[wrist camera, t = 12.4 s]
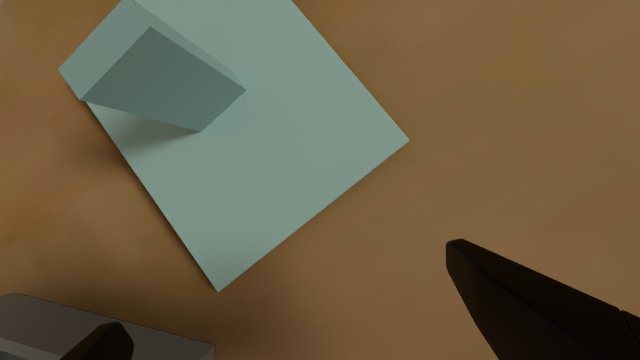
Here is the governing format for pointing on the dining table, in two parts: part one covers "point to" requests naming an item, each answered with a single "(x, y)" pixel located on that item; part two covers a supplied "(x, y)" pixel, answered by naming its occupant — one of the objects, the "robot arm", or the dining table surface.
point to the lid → (230, 119)
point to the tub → (79, 333)
